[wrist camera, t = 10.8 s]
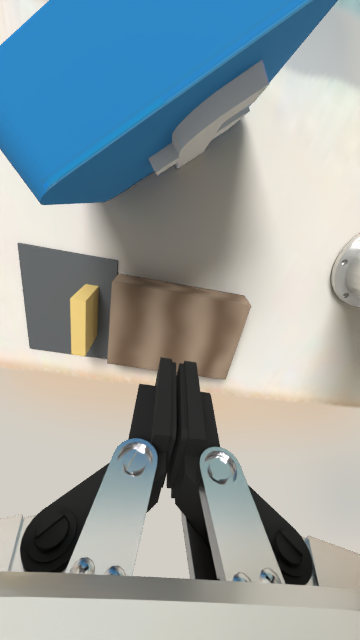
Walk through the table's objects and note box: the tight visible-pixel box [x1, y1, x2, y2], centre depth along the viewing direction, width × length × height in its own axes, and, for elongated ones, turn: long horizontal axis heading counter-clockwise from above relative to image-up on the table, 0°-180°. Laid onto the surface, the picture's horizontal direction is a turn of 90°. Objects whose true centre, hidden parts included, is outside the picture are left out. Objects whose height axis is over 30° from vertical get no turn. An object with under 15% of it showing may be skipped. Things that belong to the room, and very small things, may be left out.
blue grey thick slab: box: [0, 0, 338, 205], centre depth 20 cm, size 20×8×20 cm, turn 120°
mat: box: [18, 243, 118, 359], centre depth 39 cm, size 14×18×1 cm
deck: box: [107, 274, 251, 379], centre depth 39 cm, size 20×14×4 cm
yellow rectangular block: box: [70, 284, 99, 356], centre depth 36 cm, size 6×9×2 cm
